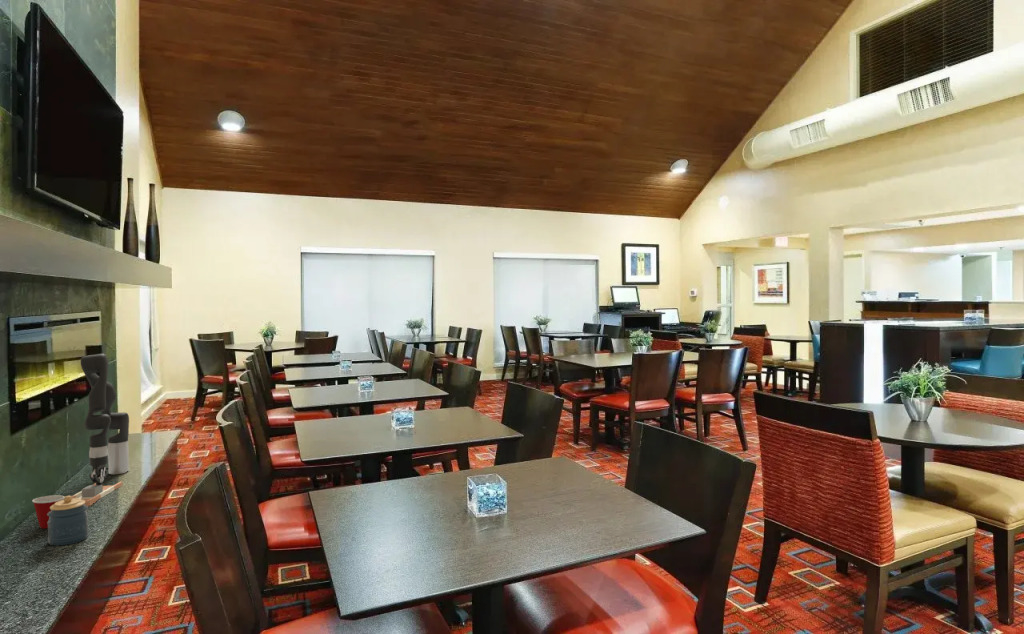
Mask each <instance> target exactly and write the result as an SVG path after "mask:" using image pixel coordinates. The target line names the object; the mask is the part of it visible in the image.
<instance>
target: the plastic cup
mask: <svg viewBox="0 0 1024 634" xmlns="http://www.w3.org/2000/svg"><path fill="white" fill-rule="evenodd" d="M65 497H66V496H64V495H57V494H56V495H55V494H54V495H45V496H40V497H36V498H33V499H32V500H31V501H32V503H33V505H34V510H35V513H36V518H37V521H38V525H39V528H40V527H41V528H40V529H48V523H47V522H48V521H49V516H48V515H47V513H48V512H49V511H51V509H50V507H51V506H52V505H53V504H55V503H56V502H58V501H61V500H64V498H65Z"/></svg>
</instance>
